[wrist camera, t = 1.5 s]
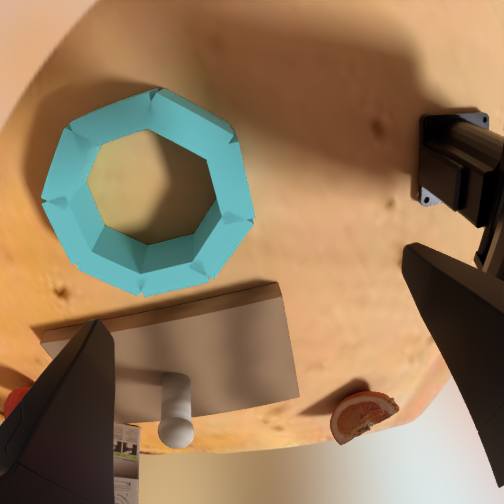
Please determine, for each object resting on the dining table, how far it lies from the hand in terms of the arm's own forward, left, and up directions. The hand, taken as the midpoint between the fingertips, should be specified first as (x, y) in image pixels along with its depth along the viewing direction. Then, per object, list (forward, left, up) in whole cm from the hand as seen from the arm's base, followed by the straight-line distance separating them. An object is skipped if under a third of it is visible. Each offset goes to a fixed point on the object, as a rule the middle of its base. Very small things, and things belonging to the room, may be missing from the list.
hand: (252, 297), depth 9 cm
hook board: (+9, +16, -11) cm, 21 cm away
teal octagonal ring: (+5, 0, -11) cm, 12 cm away
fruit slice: (-8, +30, -11) cm, 33 cm away
